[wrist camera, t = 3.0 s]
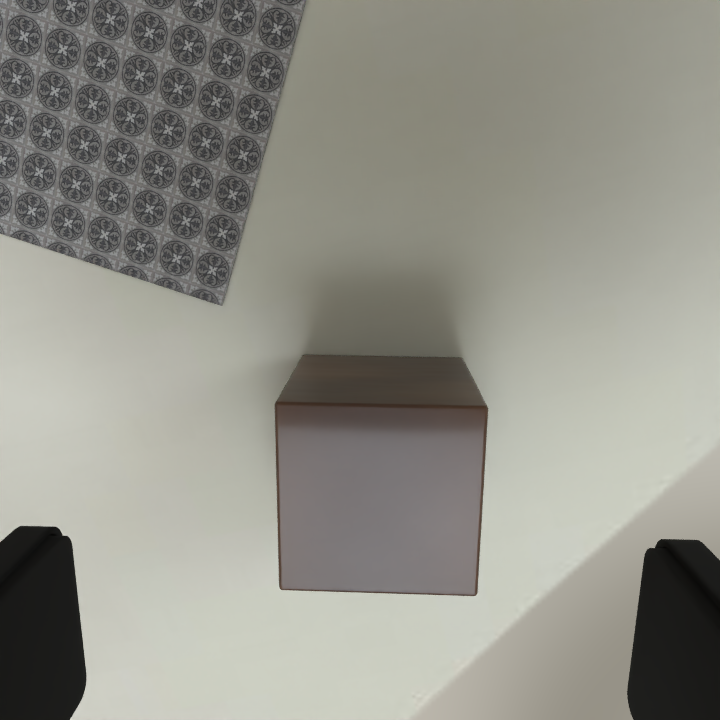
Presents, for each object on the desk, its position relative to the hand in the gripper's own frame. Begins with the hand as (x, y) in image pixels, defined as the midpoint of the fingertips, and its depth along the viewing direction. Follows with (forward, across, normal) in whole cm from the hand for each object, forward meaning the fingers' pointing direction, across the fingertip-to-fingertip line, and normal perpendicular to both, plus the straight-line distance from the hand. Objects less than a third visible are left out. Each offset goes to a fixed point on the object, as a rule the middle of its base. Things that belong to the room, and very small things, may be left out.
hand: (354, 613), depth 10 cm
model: (+9, +13, -16) cm, 23 cm away
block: (+9, 0, 0) cm, 9 cm away
